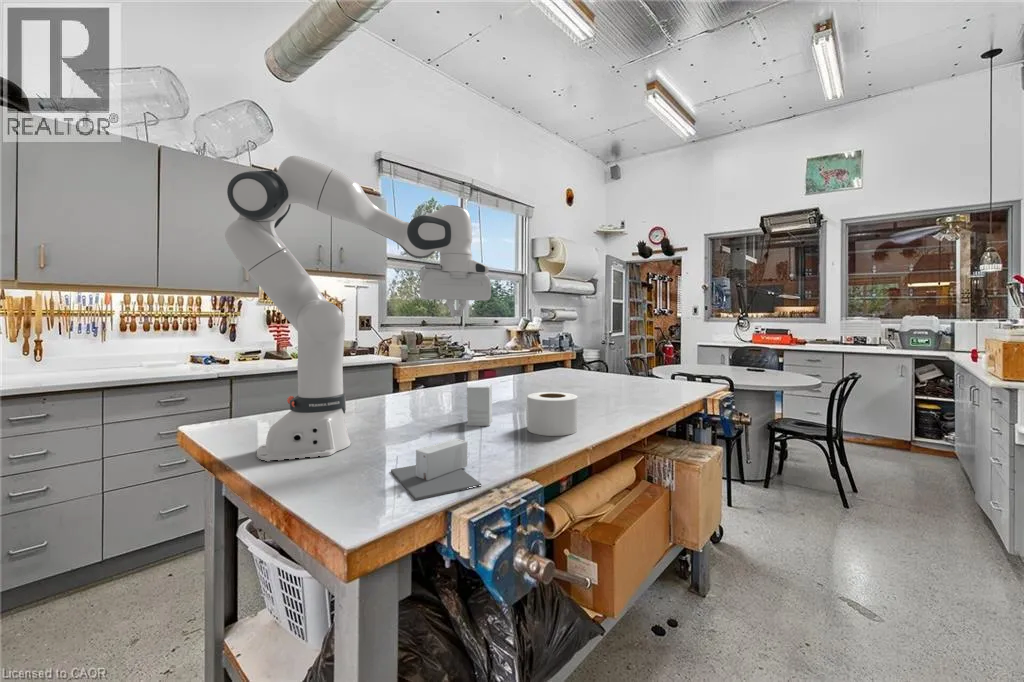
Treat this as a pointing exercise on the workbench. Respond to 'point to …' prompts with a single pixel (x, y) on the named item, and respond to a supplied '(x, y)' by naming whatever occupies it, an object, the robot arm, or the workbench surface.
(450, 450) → the skincare box
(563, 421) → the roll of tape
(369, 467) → the workbench surface
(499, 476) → the workbench surface
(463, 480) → the rubber mat
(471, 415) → the supplement box
